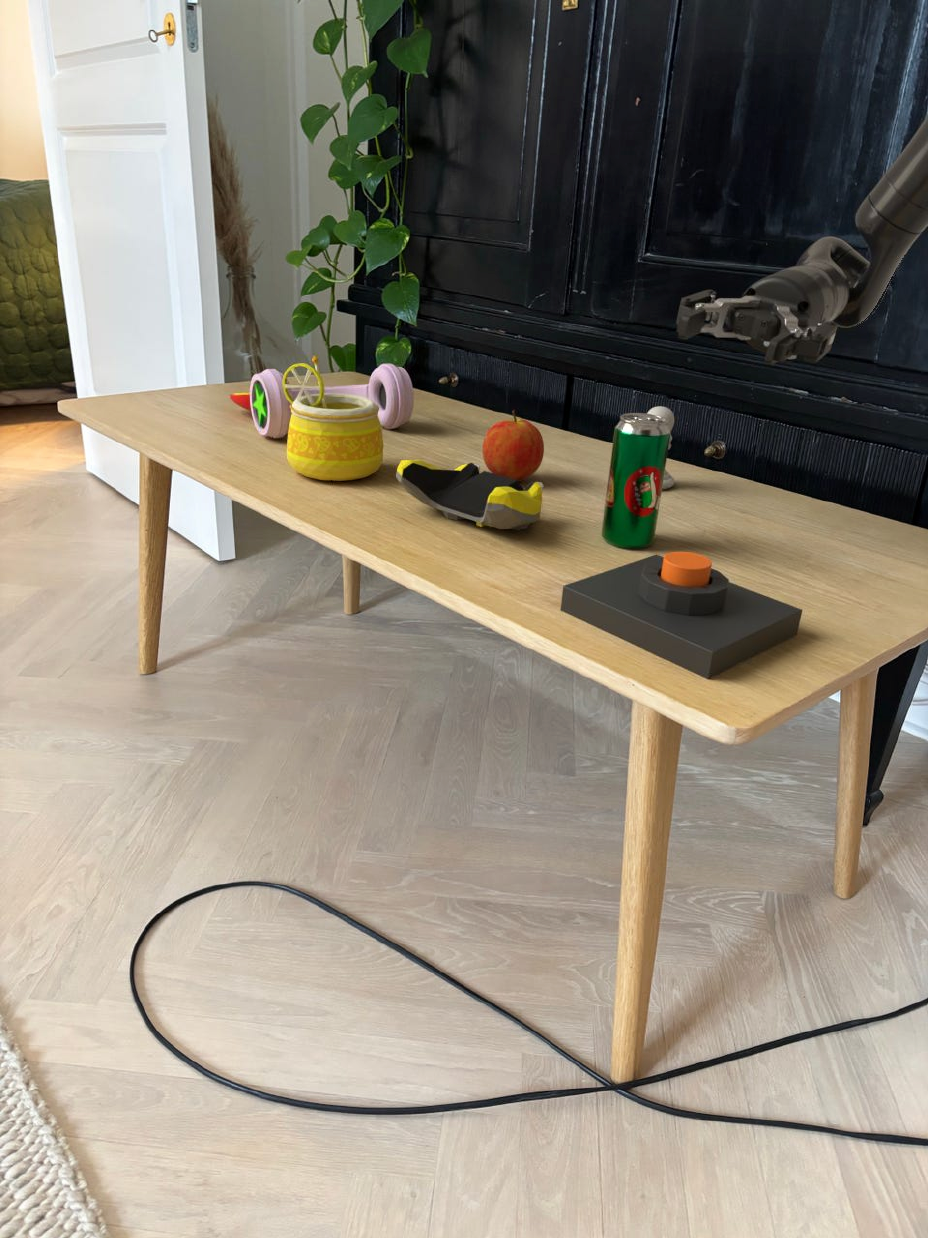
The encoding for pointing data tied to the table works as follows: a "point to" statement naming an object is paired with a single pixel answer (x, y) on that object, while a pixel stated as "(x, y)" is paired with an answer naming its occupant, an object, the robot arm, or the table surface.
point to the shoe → (473, 494)
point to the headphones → (273, 407)
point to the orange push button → (686, 569)
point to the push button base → (682, 616)
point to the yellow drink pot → (332, 432)
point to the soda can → (635, 480)
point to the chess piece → (668, 414)
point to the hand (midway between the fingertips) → (726, 340)
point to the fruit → (513, 448)
